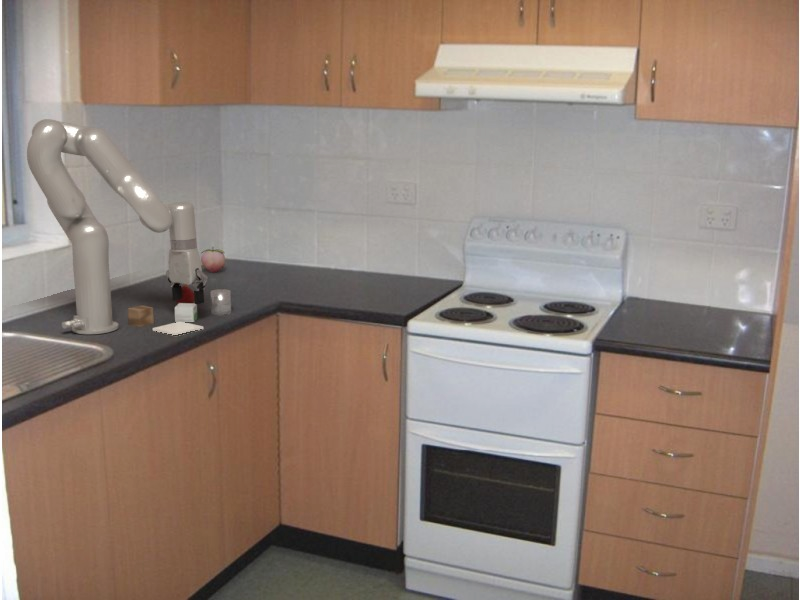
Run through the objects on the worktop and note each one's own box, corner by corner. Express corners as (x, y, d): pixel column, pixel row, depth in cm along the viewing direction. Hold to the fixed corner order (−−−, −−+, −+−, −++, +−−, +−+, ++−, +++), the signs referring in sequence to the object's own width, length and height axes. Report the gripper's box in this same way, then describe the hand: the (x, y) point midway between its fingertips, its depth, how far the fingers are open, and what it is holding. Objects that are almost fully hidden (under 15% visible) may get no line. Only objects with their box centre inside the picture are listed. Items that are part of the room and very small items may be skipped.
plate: (175, 336, 244) (175, 333, 244) (152, 330, 250) (152, 328, 250) (203, 329, 252) (203, 326, 252) (180, 324, 258) (180, 321, 258)
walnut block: (139, 327, 254) (138, 310, 253) (128, 324, 257) (127, 308, 256) (153, 324, 258) (152, 307, 257) (142, 321, 261) (141, 305, 260)
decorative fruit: (228, 270, 342) (227, 245, 340) (224, 274, 334) (223, 248, 332) (203, 270, 342) (202, 245, 339) (199, 274, 334) (198, 248, 331)
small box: (194, 323, 259) (193, 307, 258) (174, 323, 259) (173, 307, 258) (198, 318, 265) (197, 302, 264) (179, 318, 265) (178, 302, 264)
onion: (190, 311, 274) (189, 286, 272) (173, 310, 275) (171, 285, 273) (198, 307, 279) (197, 282, 277) (181, 306, 280) (180, 282, 278)
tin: (220, 316, 268) (219, 294, 266) (207, 313, 271) (206, 291, 270) (235, 312, 272) (234, 290, 271) (221, 310, 276) (221, 288, 274)
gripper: (154, 244, 259) (159, 300, 263) (193, 249, 249) (198, 307, 253) (174, 240, 265) (179, 295, 269) (213, 245, 255) (217, 302, 259)
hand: (188, 301), depth 261 cm, fingers open, 9 cm apart
